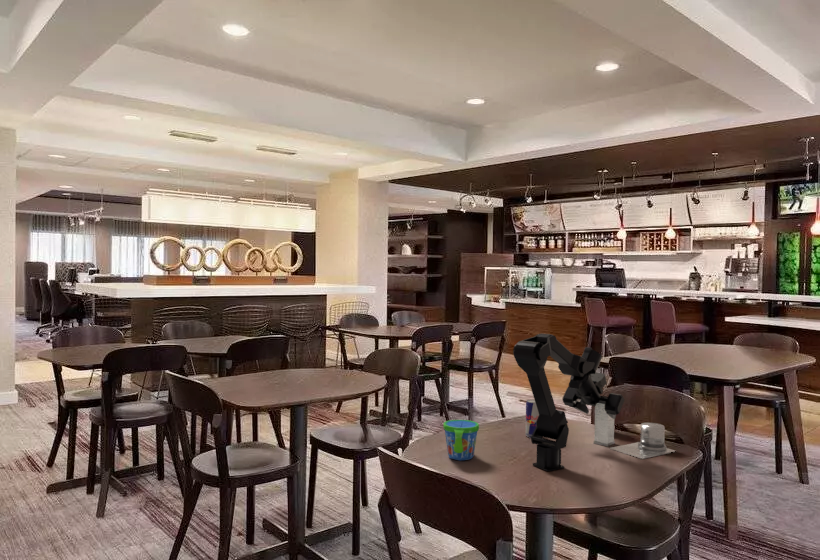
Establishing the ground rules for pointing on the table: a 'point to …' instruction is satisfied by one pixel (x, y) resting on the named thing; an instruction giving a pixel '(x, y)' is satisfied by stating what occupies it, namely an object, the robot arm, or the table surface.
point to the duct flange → (647, 443)
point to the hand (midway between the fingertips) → (601, 415)
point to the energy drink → (531, 417)
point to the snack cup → (461, 438)
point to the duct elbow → (603, 426)
